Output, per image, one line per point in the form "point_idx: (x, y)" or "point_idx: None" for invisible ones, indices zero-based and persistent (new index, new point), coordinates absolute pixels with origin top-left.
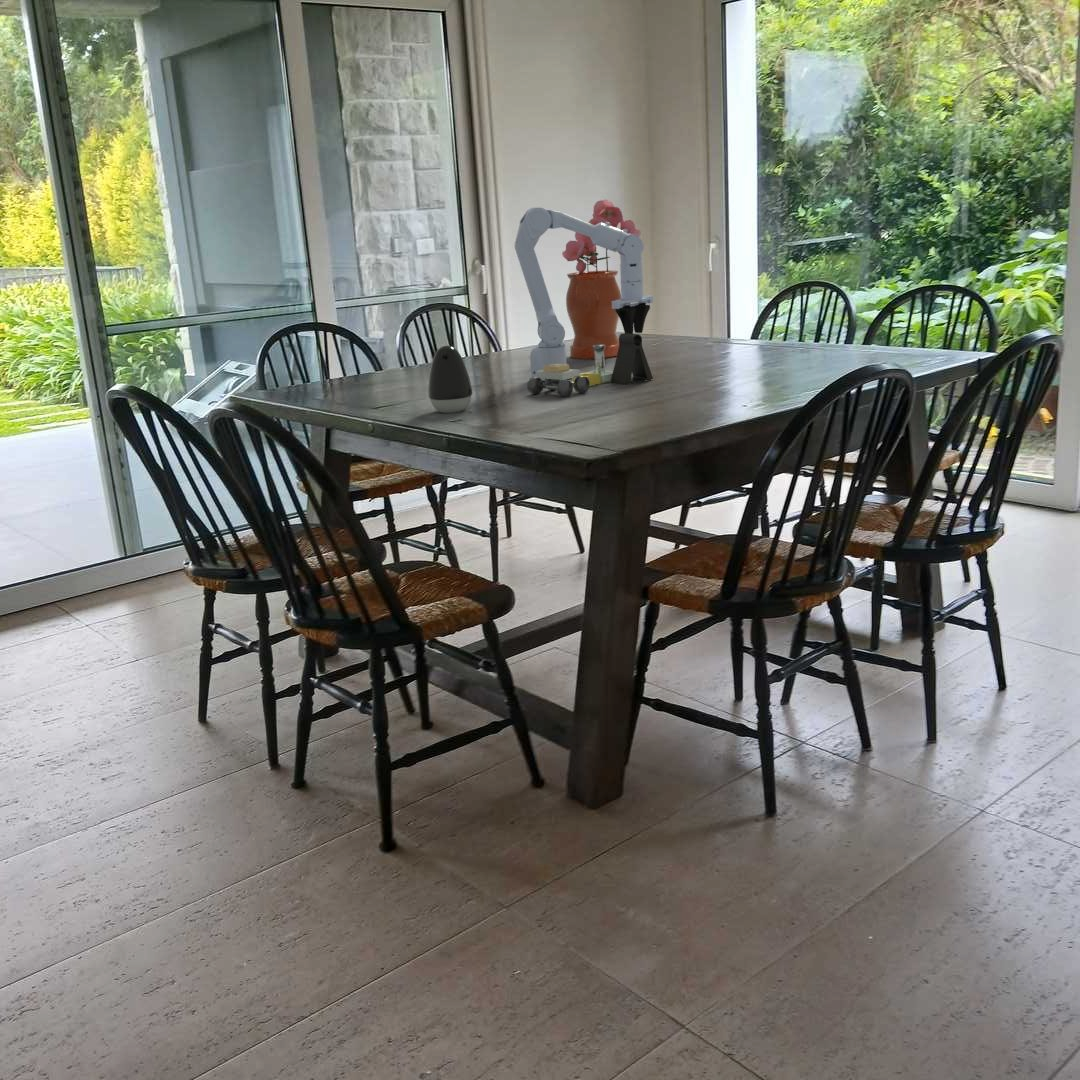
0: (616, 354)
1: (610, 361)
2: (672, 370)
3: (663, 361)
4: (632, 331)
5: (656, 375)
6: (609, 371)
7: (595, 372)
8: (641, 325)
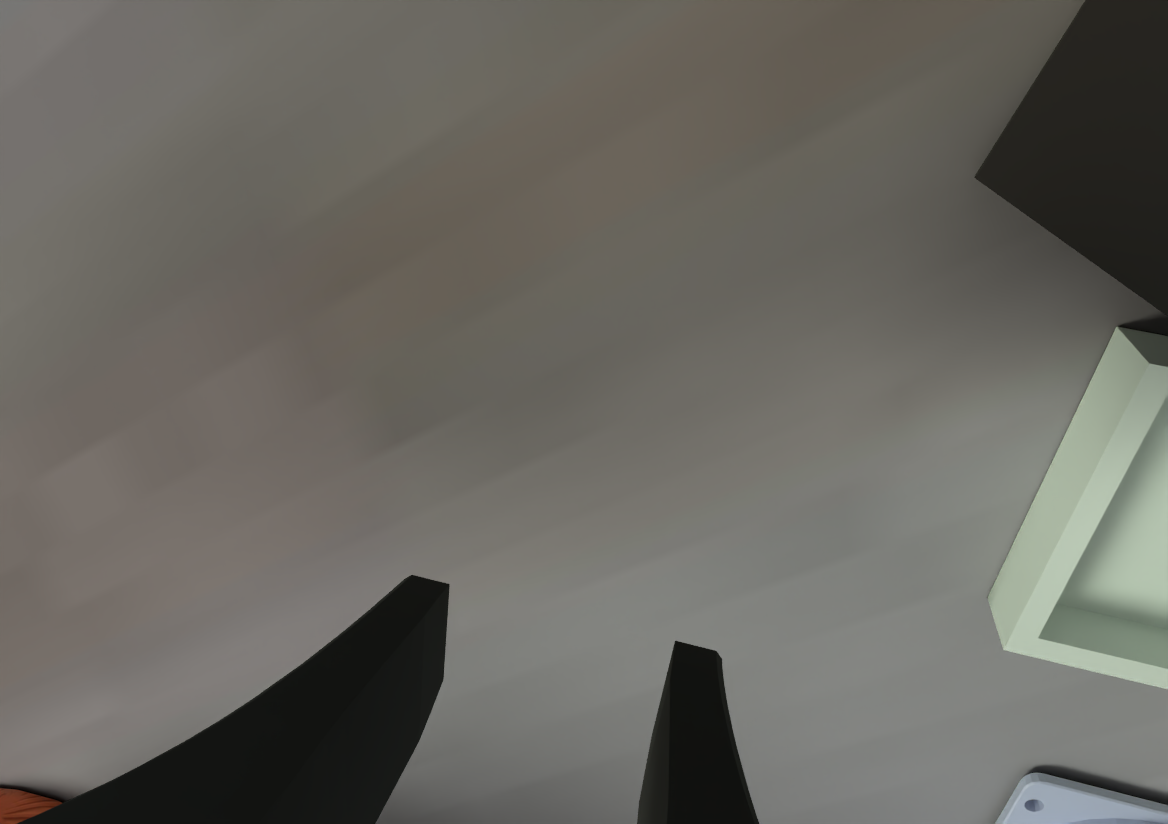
0: (29, 804)
1: None
2: (387, 40)
3: (11, 414)
4: (688, 677)
5: (772, 36)
6: (1106, 502)
7: (1073, 636)
8: (387, 666)
